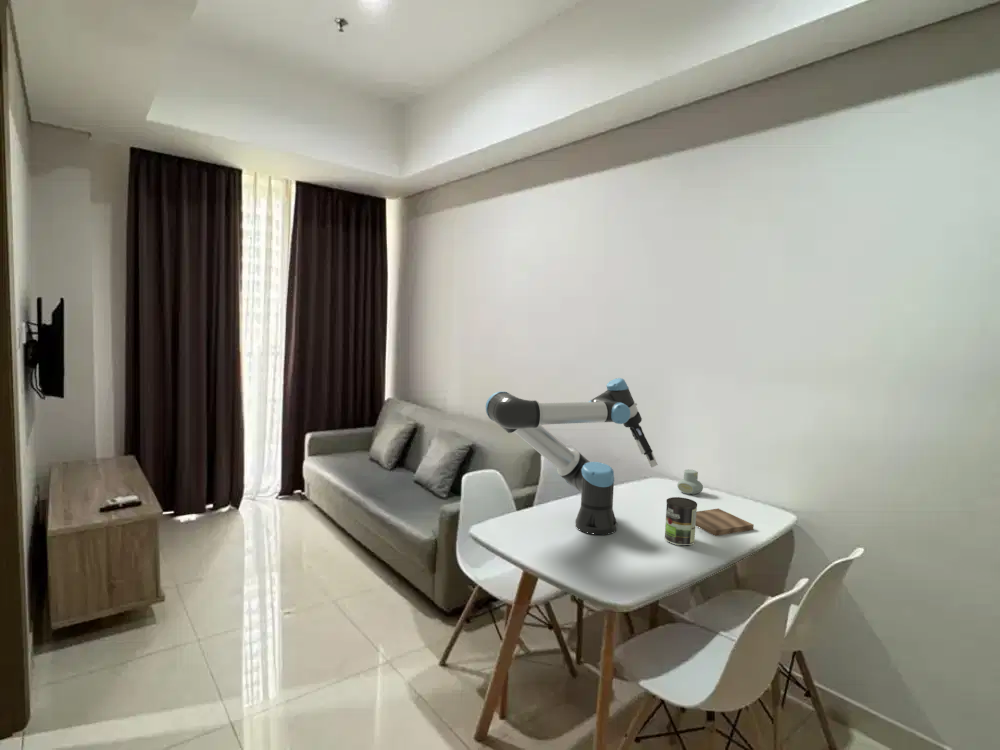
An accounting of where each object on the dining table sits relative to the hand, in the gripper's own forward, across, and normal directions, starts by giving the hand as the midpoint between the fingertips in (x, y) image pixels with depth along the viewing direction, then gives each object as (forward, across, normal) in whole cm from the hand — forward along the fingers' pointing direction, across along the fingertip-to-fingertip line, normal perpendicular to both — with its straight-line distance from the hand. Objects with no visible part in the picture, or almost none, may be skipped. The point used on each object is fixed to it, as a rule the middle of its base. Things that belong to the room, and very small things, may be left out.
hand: (649, 459), depth 222 cm
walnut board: (+26, -19, -11) cm, 35 cm away
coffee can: (+15, -35, +6) cm, 38 cm away
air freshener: (+33, +18, -12) cm, 39 cm away
